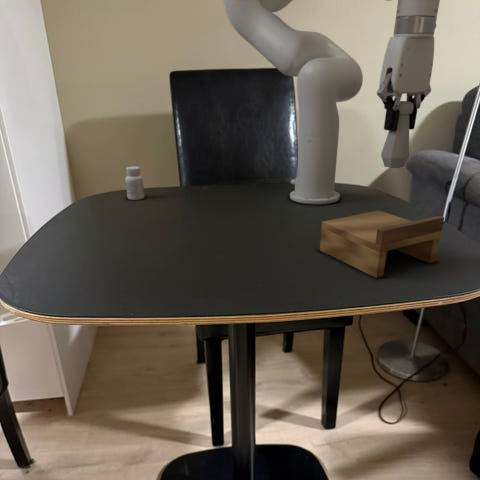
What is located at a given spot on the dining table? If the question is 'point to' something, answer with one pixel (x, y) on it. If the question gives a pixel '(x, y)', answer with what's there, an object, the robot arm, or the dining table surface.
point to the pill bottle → (134, 183)
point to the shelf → (379, 239)
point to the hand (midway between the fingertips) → (398, 128)
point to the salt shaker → (398, 139)
